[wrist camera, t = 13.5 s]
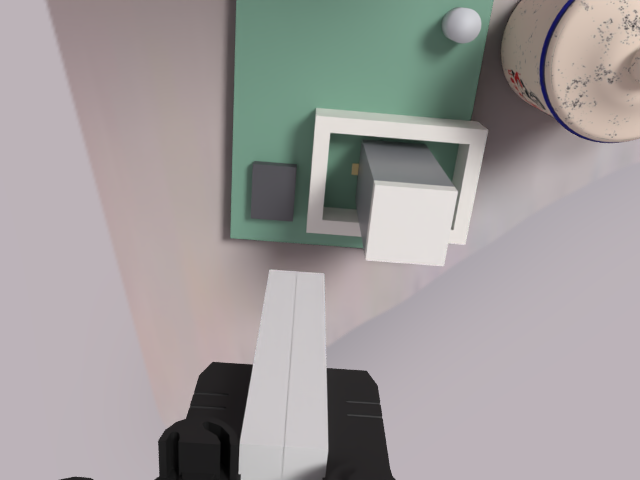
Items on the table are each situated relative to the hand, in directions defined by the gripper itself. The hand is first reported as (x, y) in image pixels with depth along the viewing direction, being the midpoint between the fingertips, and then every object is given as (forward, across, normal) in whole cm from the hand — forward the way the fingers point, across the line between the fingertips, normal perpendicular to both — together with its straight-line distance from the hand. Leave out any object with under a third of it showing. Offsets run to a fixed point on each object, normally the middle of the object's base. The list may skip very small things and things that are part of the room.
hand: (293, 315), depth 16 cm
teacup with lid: (+27, +18, +6) cm, 33 cm away
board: (+26, +3, 0) cm, 27 cm away
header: (+25, +6, -3) cm, 26 cm away
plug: (+25, +6, -3) cm, 26 cm away
